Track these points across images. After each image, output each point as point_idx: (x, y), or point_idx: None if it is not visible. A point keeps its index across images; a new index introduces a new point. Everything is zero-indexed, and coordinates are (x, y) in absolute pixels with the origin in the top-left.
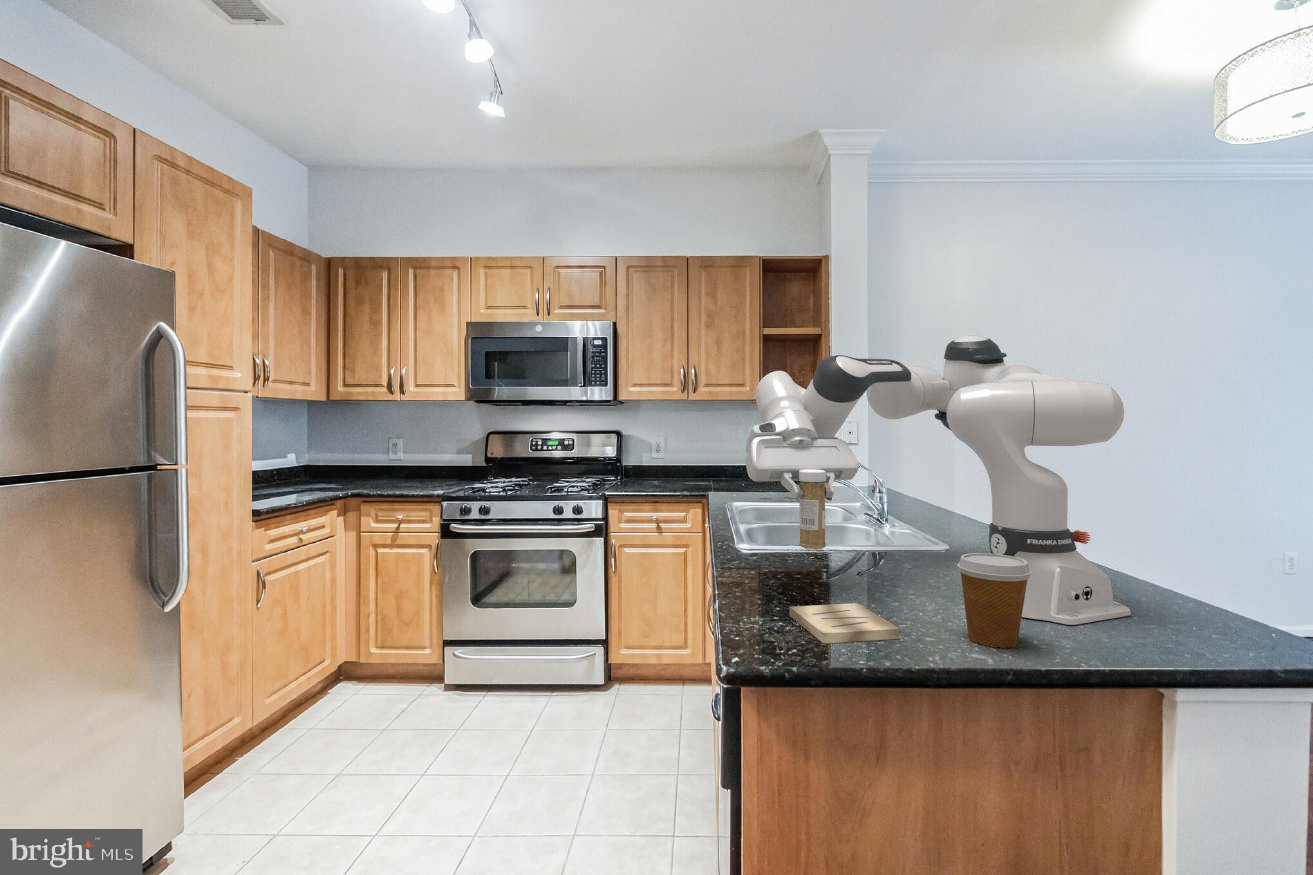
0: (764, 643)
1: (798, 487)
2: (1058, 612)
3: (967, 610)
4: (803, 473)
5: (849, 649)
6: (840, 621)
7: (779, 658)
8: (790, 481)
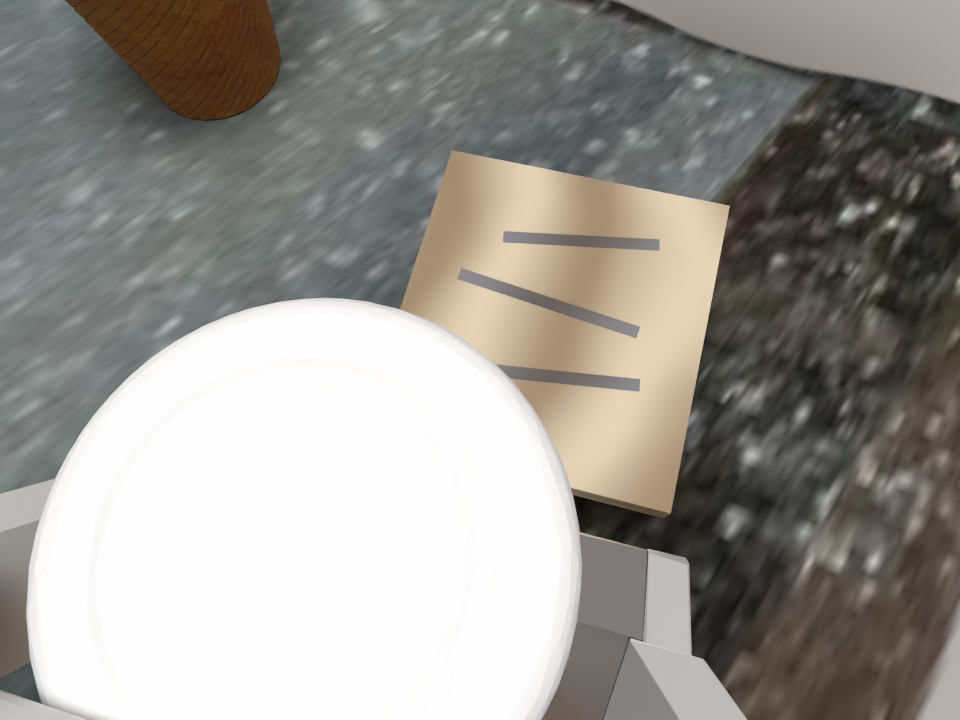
0: (919, 299)
1: (613, 595)
2: None
3: (247, 24)
4: (573, 508)
5: (671, 160)
6: (589, 278)
7: (929, 180)
8: (726, 715)
